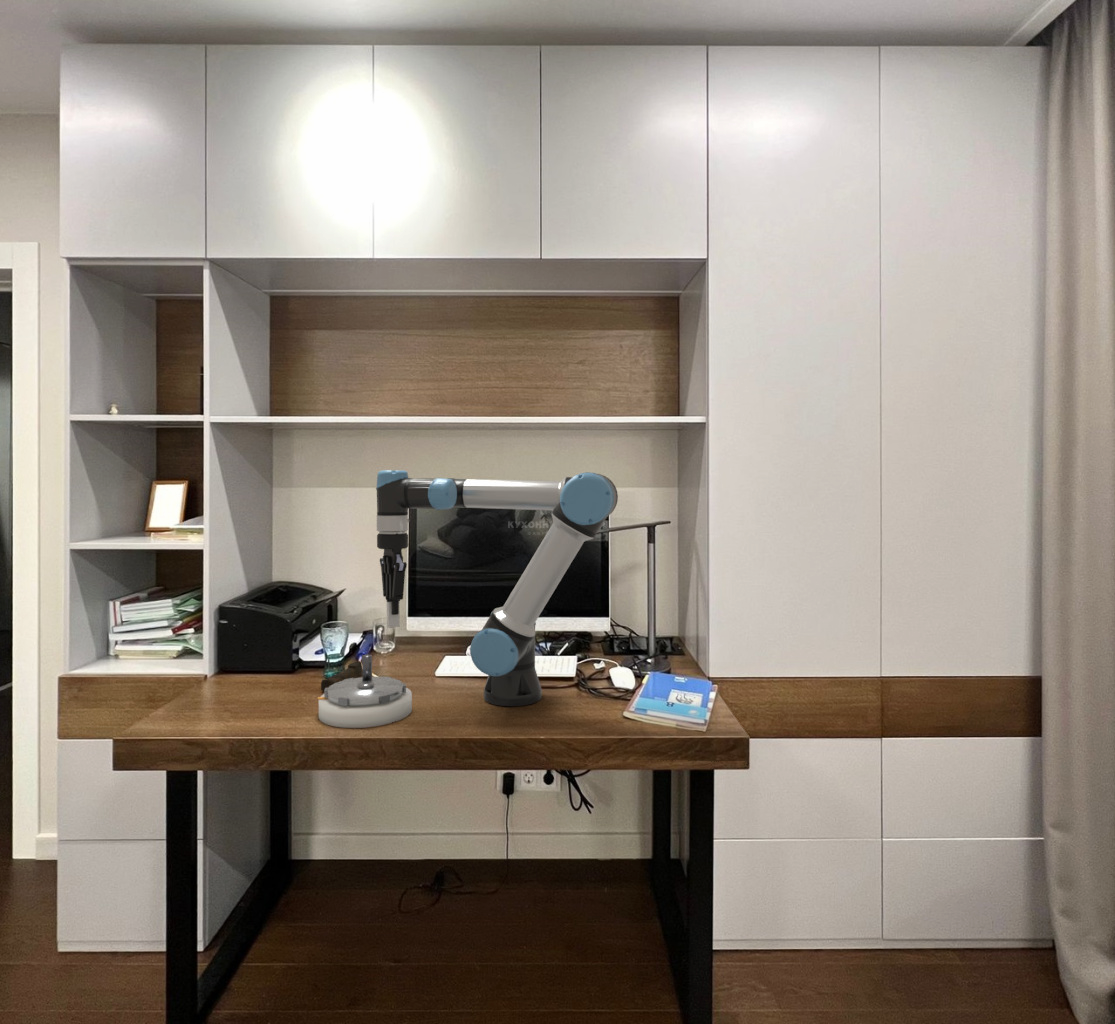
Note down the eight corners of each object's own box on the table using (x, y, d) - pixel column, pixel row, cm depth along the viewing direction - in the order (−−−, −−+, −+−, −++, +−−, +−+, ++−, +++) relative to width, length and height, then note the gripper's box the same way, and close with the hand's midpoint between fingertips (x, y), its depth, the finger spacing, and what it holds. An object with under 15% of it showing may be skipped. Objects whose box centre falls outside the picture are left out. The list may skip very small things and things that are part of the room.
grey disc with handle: (406, 703, 166) (406, 670, 166) (320, 709, 162) (320, 674, 162) (405, 682, 184) (405, 651, 183) (328, 686, 179) (328, 655, 179)
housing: (427, 703, 180) (427, 686, 180) (381, 732, 159) (381, 713, 159) (353, 695, 187) (352, 679, 186) (299, 722, 166) (298, 703, 166)
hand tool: (333, 694, 188) (333, 677, 188) (320, 693, 189) (320, 676, 189) (370, 676, 206) (370, 660, 206) (357, 674, 207) (357, 659, 207)
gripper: (416, 533, 171) (417, 629, 172) (398, 530, 182) (398, 620, 183) (386, 534, 167) (387, 633, 168) (369, 531, 178) (370, 623, 179)
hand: (393, 626), depth 176 cm, fingers closed
